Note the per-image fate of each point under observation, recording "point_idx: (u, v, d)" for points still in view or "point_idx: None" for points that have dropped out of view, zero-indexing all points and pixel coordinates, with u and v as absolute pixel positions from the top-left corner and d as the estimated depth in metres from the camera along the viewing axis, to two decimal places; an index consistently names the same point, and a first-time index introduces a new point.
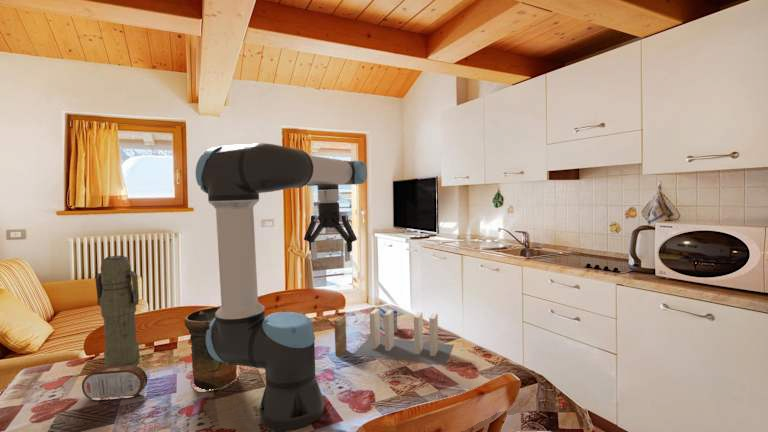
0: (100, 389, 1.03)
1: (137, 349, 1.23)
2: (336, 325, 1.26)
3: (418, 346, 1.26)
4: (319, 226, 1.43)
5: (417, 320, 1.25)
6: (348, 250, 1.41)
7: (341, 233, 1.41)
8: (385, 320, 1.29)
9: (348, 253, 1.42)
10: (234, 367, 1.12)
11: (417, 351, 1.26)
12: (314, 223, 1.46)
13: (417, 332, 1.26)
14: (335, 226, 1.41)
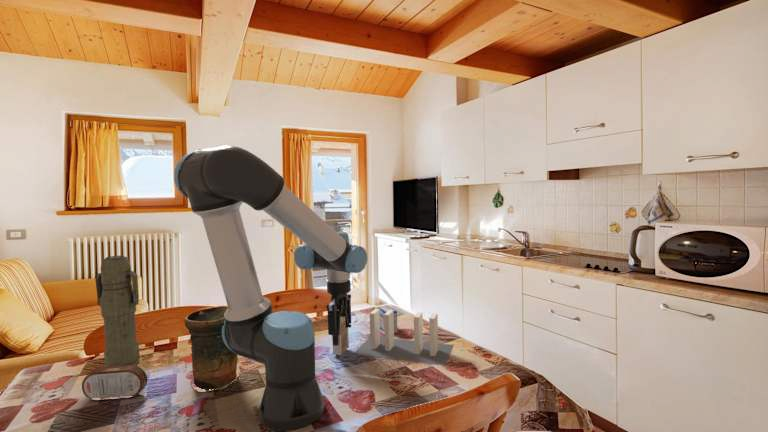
0: (100, 389, 1.03)
1: (137, 349, 1.23)
2: None
3: (418, 346, 1.26)
4: None
5: (417, 320, 1.25)
6: None
7: None
8: (385, 320, 1.29)
9: (336, 346, 1.25)
10: (234, 367, 1.12)
11: (417, 351, 1.26)
12: None
13: (417, 332, 1.26)
14: None
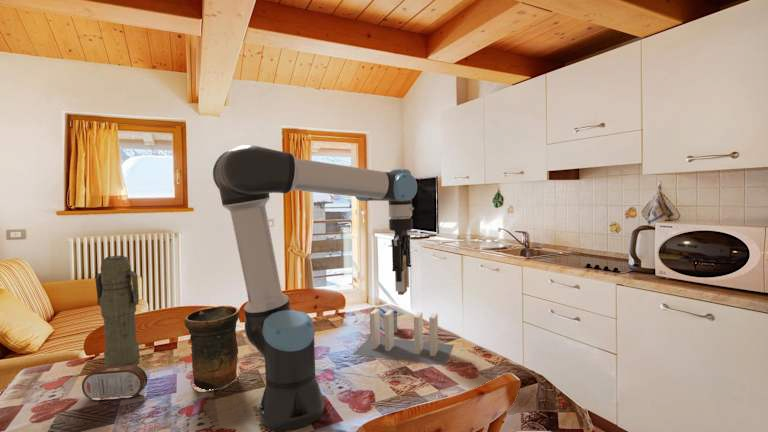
0: (100, 389, 1.03)
1: (137, 349, 1.23)
2: None
3: (418, 346, 1.26)
4: None
5: (417, 320, 1.25)
6: None
7: None
8: (385, 320, 1.29)
9: (399, 283, 1.26)
10: (234, 367, 1.12)
11: (417, 351, 1.26)
12: None
13: (417, 332, 1.26)
14: None
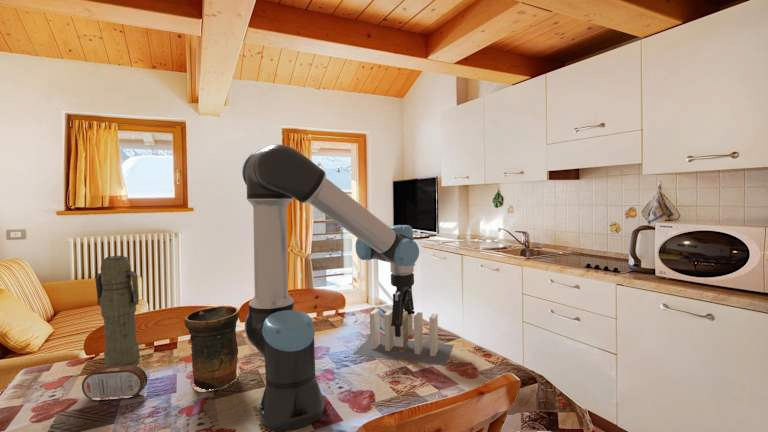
0: (100, 389, 1.03)
1: (137, 349, 1.23)
2: None
3: (418, 346, 1.26)
4: None
5: (417, 320, 1.25)
6: None
7: None
8: (385, 320, 1.29)
9: (398, 338, 1.24)
10: (234, 367, 1.12)
11: (417, 351, 1.26)
12: None
13: (417, 332, 1.26)
14: None
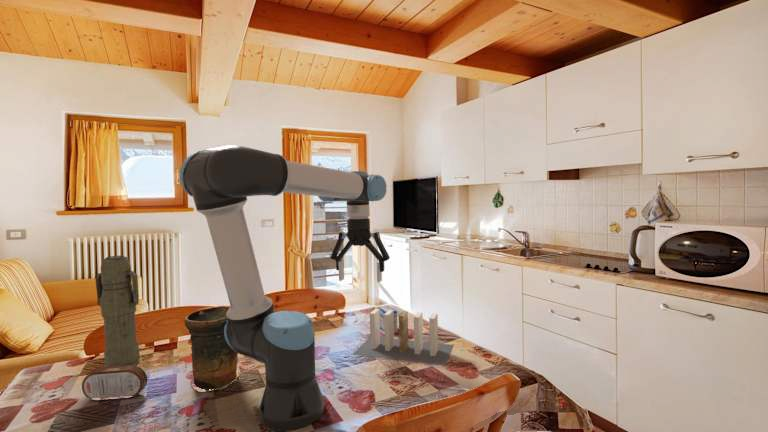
0: (100, 389, 1.03)
1: (137, 349, 1.23)
2: (400, 320, 1.27)
3: (418, 346, 1.26)
4: None
5: (417, 320, 1.25)
6: None
7: None
8: (385, 320, 1.29)
9: None
10: (234, 367, 1.12)
11: (417, 351, 1.26)
12: None
13: (417, 332, 1.26)
14: None
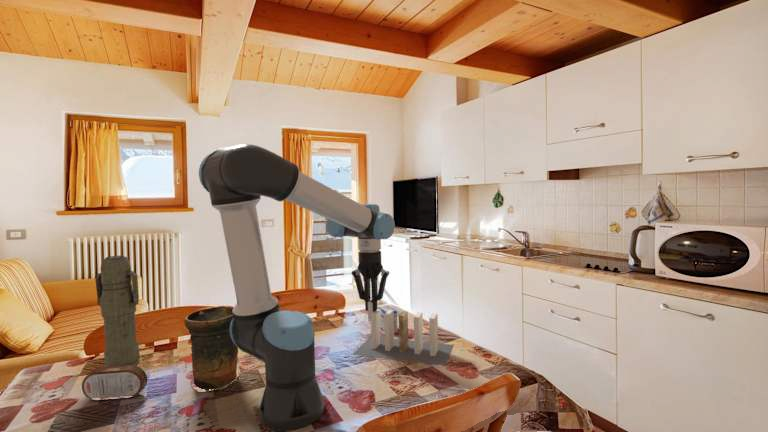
0: (100, 389, 1.03)
1: (137, 349, 1.23)
2: (400, 320, 1.27)
3: (418, 346, 1.26)
4: None
5: (417, 320, 1.25)
6: None
7: None
8: (385, 320, 1.29)
9: None
10: (234, 367, 1.12)
11: (417, 351, 1.26)
12: None
13: (417, 332, 1.26)
14: None
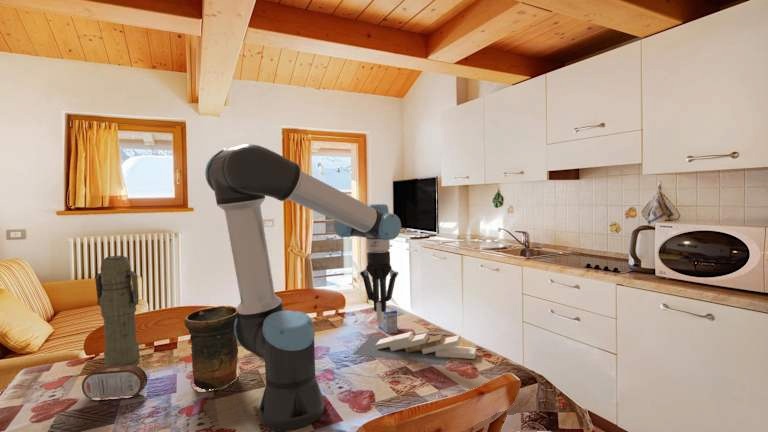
0: (100, 389, 1.03)
1: (137, 349, 1.23)
2: (435, 342, 1.24)
3: (430, 351, 1.25)
4: None
5: (455, 345, 1.22)
6: None
7: None
8: (418, 341, 1.26)
9: None
10: (234, 367, 1.12)
11: (424, 351, 1.25)
12: None
13: (443, 347, 1.23)
14: None
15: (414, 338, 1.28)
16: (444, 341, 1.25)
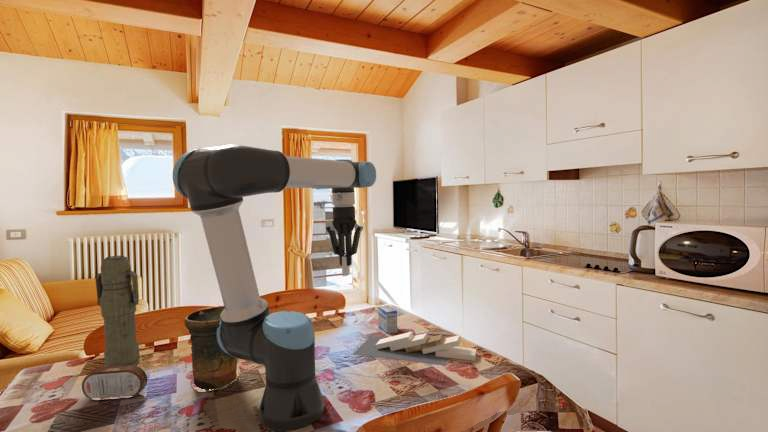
0: (100, 389, 1.03)
1: (137, 349, 1.23)
2: (435, 342, 1.24)
3: (430, 351, 1.25)
4: None
5: (455, 345, 1.22)
6: None
7: None
8: (418, 341, 1.26)
9: None
10: (234, 367, 1.12)
11: (425, 351, 1.25)
12: None
13: (443, 347, 1.23)
14: None
15: (414, 338, 1.28)
16: (444, 341, 1.25)
